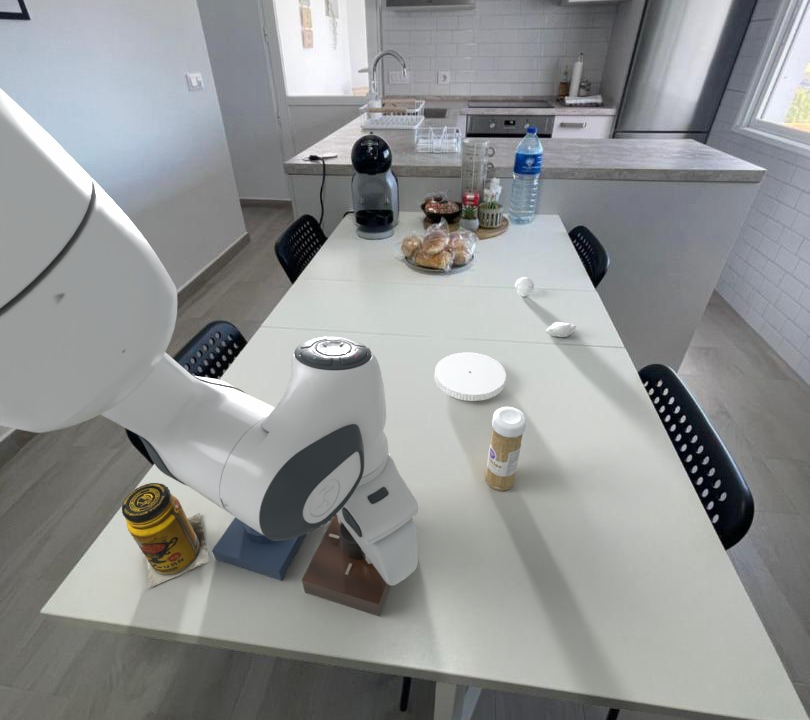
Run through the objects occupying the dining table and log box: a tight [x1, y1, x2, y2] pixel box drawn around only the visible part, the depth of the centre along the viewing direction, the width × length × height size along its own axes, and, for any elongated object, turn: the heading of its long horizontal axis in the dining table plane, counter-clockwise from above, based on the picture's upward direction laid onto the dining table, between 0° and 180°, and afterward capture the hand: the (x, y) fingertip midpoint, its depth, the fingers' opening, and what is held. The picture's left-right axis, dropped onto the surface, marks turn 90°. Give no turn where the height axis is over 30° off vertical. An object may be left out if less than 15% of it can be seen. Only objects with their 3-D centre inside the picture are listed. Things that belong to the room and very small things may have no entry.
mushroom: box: [514, 276, 535, 298], centre depth 118 cm, size 5×5×5 cm
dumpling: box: [545, 321, 578, 338], centre depth 102 cm, size 7×5×4 cm
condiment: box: [121, 482, 210, 588], centre depth 57 cm, size 7×8×12 cm
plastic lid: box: [434, 351, 507, 402], centre depth 89 cm, size 14×14×2 cm
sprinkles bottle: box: [484, 406, 527, 491], centre depth 66 cm, size 5×5×13 cm
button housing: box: [211, 517, 309, 582], centre depth 62 cm, size 12×10×4 cm
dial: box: [340, 523, 364, 559], centre depth 57 cm, size 4×4×4 cm
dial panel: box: [301, 515, 392, 617], centre depth 59 cm, size 13×10×3 cm
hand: (359, 540), depth 57 cm, fingers closed on dial, 4 cm apart
